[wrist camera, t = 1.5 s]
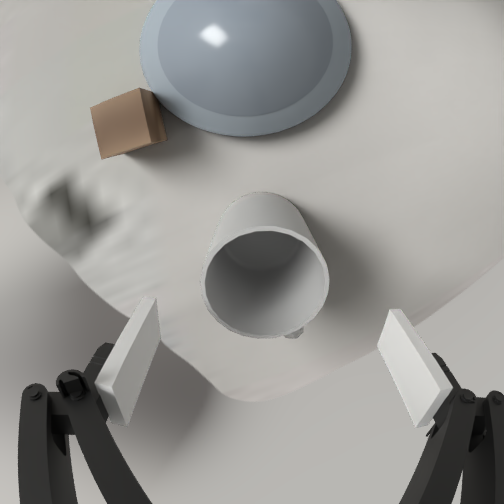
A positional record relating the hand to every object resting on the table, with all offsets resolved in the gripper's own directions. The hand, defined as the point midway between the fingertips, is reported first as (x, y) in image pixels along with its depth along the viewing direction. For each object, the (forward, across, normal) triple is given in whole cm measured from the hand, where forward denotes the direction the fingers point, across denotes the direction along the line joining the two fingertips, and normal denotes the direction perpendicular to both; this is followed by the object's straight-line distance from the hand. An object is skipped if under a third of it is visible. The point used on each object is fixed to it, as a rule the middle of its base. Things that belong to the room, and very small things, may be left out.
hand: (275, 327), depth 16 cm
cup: (+10, 0, +1) cm, 11 cm away
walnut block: (+10, -11, +11) cm, 18 cm away
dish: (+10, -3, +18) cm, 20 cm away
